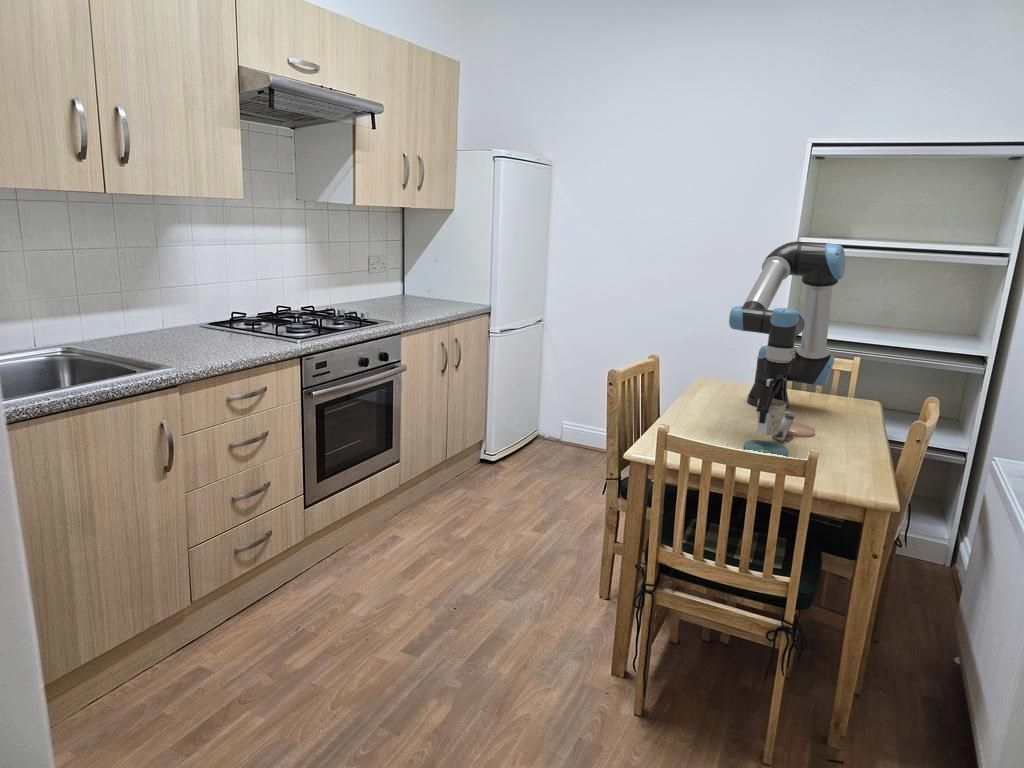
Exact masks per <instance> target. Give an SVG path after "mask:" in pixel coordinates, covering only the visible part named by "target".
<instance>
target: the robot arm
mask: <svg viewBox="0 0 1024 768" xmlns="http://www.w3.org/2000/svg"><path fill="white" fill-rule="evenodd" d="M845 267H846V253H845V249H844V247H843V246H842V245H841V244H839V243H837V244H836V243H830V242H811V241H790V242H786V243H784V244H782V245H780V246H778V247H777V248H775V249H773V250H772V251H771V252H770V253H769V254H768V255H767V256H766V257H765V258H764V261H763V262H762V264H761V272H760V274H759V276H758V277H757V280H756V281H755V283H754V285H753V287H752V288H751V290H750V292H749V294H748V295H747V298H746V300H745V301H744V303H743V305H742V306H740V305H739V306H733V307H732V308H731V310H730V313H729V316H728V324H729V325H728V326H729V327H730V328H731V329H733V330H737V331H741V332H750V333H758V334H765V335H768V338H767V344H766V345H764V346H761V347H760V348H759V350H758V354H757V357H756V359H757V361H756V369H755V374H754V375H755V376H754V382H753V385H752V386H751V389H750V390H749V393H748V395H747V398H746V399H747V400H746V401H747V403H748V404H750V405H751V406H754V407H757V408H756V412H757V413H758V412H759V419H758V418H757V428H756V433H759V434H761V433H763V434H762V435H764V434H766V433H767V426H768V419H769V413H768V411H769V408H770V406H771V403H772V400H773V399H777V400H782V401H784V402H786V408H785V409H787V408H788V407H789V403H790V401H789V400H790V399H789V395H788V390H787V389H788V387H787V386H788V385H787V383H788V382H792V383H793V382H794V383H800V384H805V385H811V386H819V387H823V386H825V385H826V384H827V383H828V381H829V378H830V376H831V372H832V370H833V367H834V362H835V356H834V355H831V349H830V347H828V346H827V342H828V333H829V332H828V331H829V326H830V325H829V324H830V315H831V314H830V313H831V306H832V305H831V304H832V297H833V287H835V286H836V285H837V284H838V283H839V280H841V279H843V278H844V274H845V269H846V268H845ZM789 276H799V277H801V283H802V284H803V285H804V286H805V296H804V306H803V307H804V308H803V314H802V313H801V312H799V311H798V310H797V309H793V308H789V307H788V308H786V307H785V308H784V307H776V308H774V309H772V310H771V309H769V308H770V306H771V303H772V302H773V300H774V298H775V296H776V294H777V292H778V290H779V288H780V287H781V284H782V283H783V281H784V280H785V279H787V278H788V277H789ZM800 334H801V338H800V343H801V344H800V345H799V346H797V347H796V350H794V348H795V342H796V337H797V336H798V335H800ZM758 399H760V400H759V404H758ZM763 407H764V408H763Z"/></svg>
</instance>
